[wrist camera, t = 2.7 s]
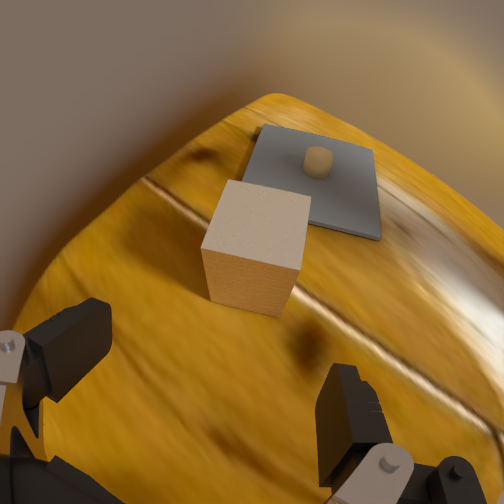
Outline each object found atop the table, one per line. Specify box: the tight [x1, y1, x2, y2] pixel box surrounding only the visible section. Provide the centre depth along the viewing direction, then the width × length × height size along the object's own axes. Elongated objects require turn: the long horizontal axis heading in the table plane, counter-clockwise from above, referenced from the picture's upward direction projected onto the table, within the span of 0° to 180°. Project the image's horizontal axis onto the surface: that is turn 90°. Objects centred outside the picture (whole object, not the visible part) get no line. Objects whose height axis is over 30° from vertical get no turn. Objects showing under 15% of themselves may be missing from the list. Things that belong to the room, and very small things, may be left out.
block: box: [201, 179, 311, 318], centre depth 22 cm, size 6×6×8 cm
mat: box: [241, 124, 381, 241], centre depth 32 cm, size 16×16×3 cm
